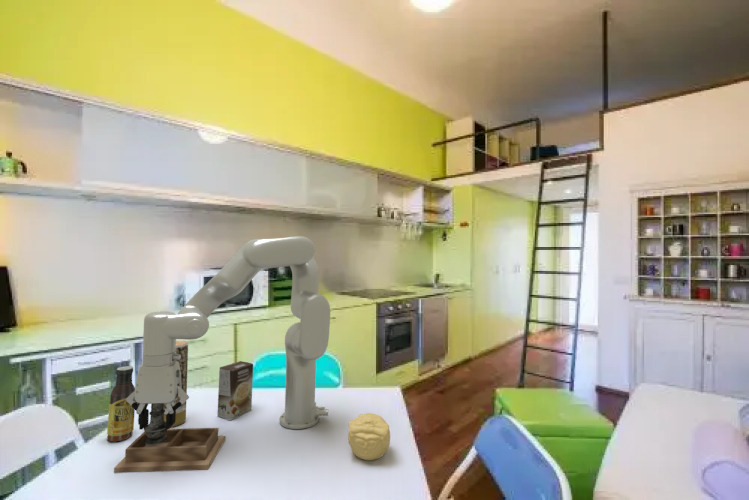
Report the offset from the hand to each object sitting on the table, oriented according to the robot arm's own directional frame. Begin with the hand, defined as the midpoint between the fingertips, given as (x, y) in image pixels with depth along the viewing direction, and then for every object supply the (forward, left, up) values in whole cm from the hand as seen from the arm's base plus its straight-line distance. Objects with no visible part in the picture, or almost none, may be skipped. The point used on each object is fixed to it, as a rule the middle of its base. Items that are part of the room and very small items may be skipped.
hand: (156, 426), depth 95 cm
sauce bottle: (+14, -10, -8) cm, 19 cm away
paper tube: (+3, -18, -8) cm, 20 cm away
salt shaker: (0, 0, -4) cm, 4 cm away
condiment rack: (-5, 0, -8) cm, 9 cm away
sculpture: (-57, +2, -8) cm, 57 cm away
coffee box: (-14, -24, -8) cm, 29 cm away
